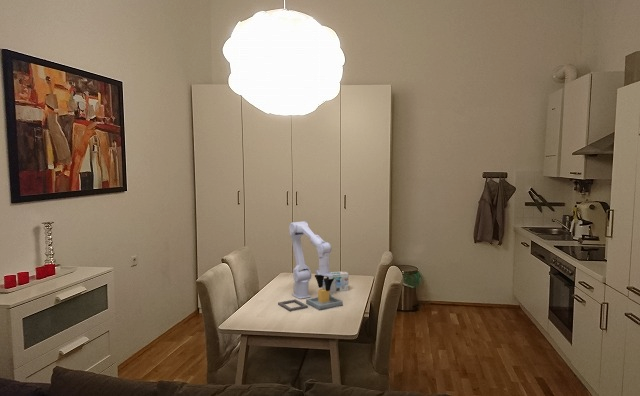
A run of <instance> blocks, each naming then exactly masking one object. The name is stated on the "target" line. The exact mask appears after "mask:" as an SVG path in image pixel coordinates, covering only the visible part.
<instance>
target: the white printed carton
mask: <svg viewBox="0 0 640 396" xmlns="http://www.w3.org/2000/svg"><path fill="white" fill-rule="evenodd" d="M329 272H330V274H331V275H333V278H334V279H336V292H345V291H346V292H348V291H349V279H350V278H349V276H350V275H349V272H347V271H345V270H344V271H329Z"/></svg>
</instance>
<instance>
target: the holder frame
mask: <svg viewBox="0 0 640 396" xmlns="http://www.w3.org/2000/svg"><path fill="white" fill-rule="evenodd" d="M293 303H295V304H297V305H298V306H295V307H290V306H288V304H293ZM277 305H278V306H279V307H281V308H283V309H285V310H286V311H288V312H295V311H299V310H300V311H301V310H304V309H309V305H308V304H306V303H303V302H302V301H300V300H297V299H289V300H285V301H284V300H283V301H279V302H277Z"/></svg>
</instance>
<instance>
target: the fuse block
mask: <svg viewBox="0 0 640 396" xmlns="http://www.w3.org/2000/svg"><path fill="white" fill-rule="evenodd" d="M317 291H318V292H317V297H318V303H319V304H321V305H323V304H328V303H329V291H326V288H325V289H322V288H319V289H317Z"/></svg>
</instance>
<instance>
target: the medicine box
mask: <svg viewBox="0 0 640 396" xmlns="http://www.w3.org/2000/svg"><path fill="white" fill-rule="evenodd" d="M321 289H325V282H324V279H323V287H321ZM336 293H337V291H336V279H334V280H333V282H332V284H331V288H330V291H329V295H330V296H332V295H334V294H336Z"/></svg>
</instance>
